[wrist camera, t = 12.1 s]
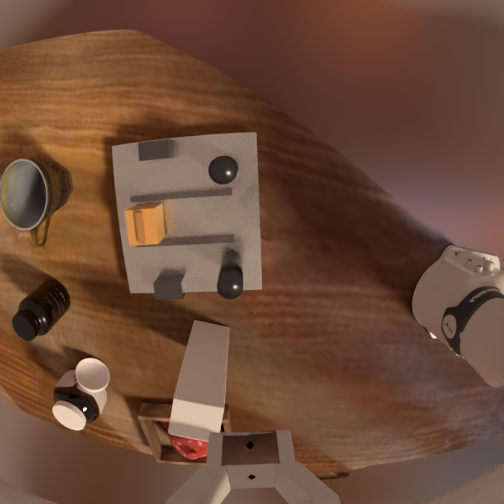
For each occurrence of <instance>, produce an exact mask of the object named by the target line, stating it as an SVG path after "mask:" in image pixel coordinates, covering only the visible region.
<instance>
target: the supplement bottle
mask: <svg viewBox="0 0 504 504" xmlns="http://www.w3.org/2000/svg"><path fill="white" fill-rule="evenodd" d="M69 306H70V297H69V294H68V292H67V290H66V289H65V287H64V286H63V285H62V284H60V283H59V282H57V281H54V280H49V281H46V282H44V283H43V284H42V285H40V286H39V287H38V288H37V289H35V290H34V291H33V292H32V293H31V294H29V295H28V296H27V297H26V298H24V299H23V300H22V301H21V303H20V305H19V309H18V312H17V313H16V314H15V315H14V317H13V319H12V325H13V328H14V330H15V332H16V333H17V335H18V336H19V337H21V338H22V339H23V340H25V341H31V340H33V339H34V338H35V337H36V336H37V335H39V336H40V335H45V334H46V333H48V332H49V330H50V329H51V328H52V327H53V326H54V325H55V324H56V323H57V322H58V321H59V319H60V318H61V317H62V316H63V315H64V314H65V313H66V312H67V310H68V309H69Z"/></svg>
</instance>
